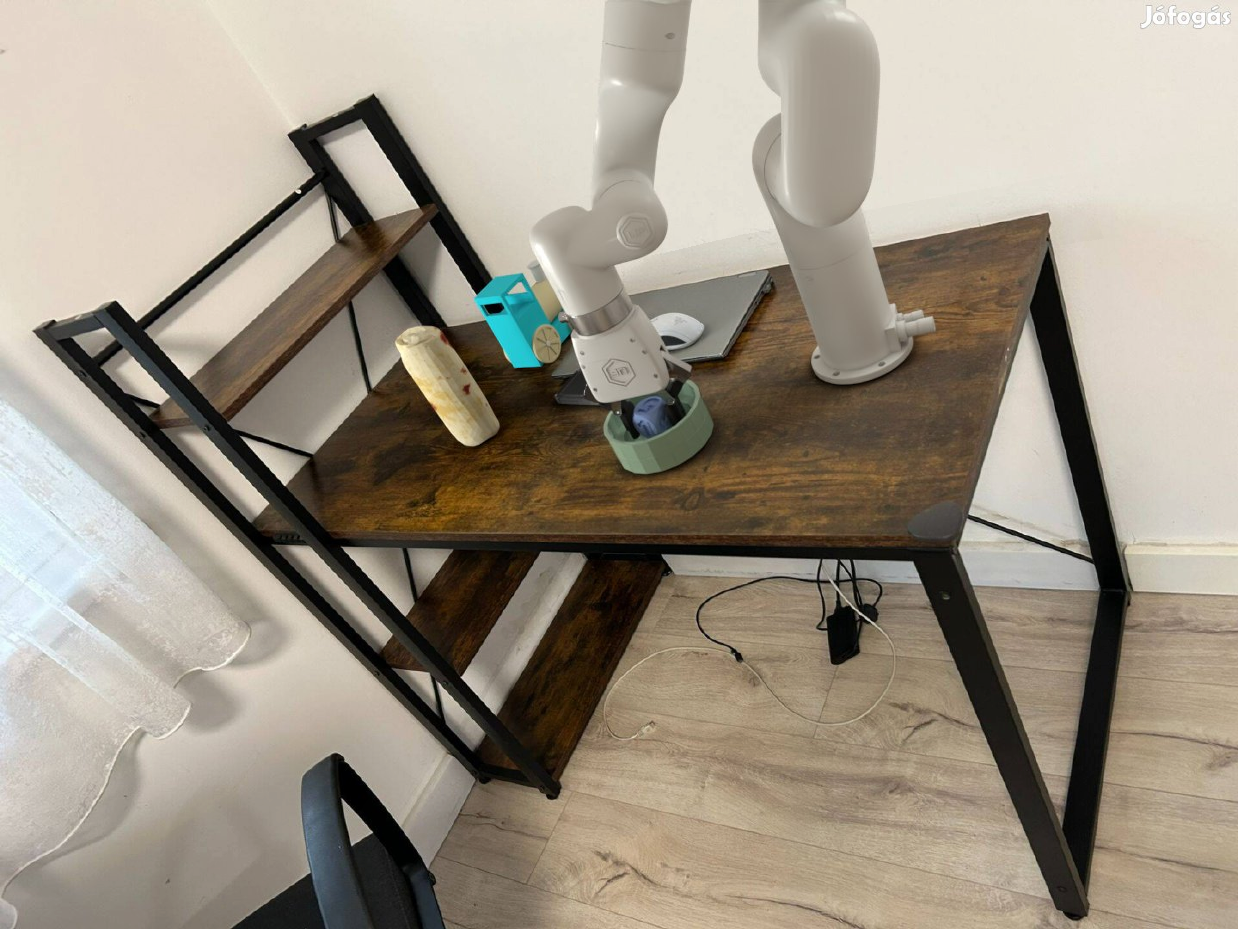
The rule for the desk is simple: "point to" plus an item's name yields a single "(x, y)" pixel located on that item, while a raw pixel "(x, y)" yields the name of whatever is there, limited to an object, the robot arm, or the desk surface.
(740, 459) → the desk surface
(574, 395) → the phone
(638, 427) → the decorative dice
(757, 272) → the desk surface
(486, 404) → the food model
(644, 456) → the bowl
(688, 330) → the computer mouse
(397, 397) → the desk surface
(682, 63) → the robot arm
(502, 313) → the toy train
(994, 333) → the desk surface
